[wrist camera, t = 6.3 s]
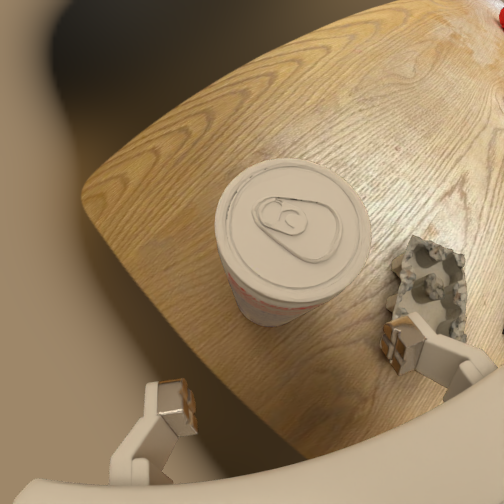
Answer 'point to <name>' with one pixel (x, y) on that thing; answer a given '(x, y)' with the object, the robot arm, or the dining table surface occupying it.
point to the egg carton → (431, 287)
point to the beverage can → (290, 238)
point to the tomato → (502, 18)
